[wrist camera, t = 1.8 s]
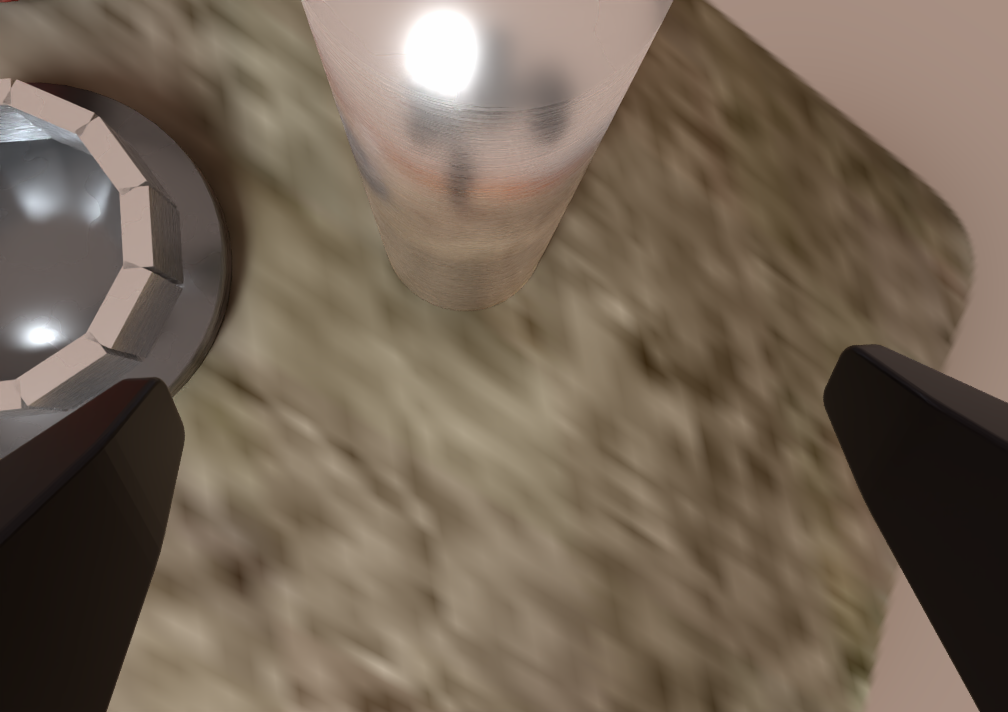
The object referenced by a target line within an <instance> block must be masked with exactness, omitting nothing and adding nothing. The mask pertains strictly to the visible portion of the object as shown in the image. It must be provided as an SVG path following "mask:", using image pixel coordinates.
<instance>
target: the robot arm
mask: <svg viewBox="0 0 1008 712" xmlns="http://www.w3.org/2000/svg"><path fill="white" fill-rule="evenodd" d="M823 401H824V406H825V410H826V412H827V414H828V417H829V419H830V421H831V424H832V426H833V429H834V431H835V433H836V436H837V438H838V440H839V443H840V445H841V448H842V450H843V452H844V455H845V457H846V459H847V462H848V464H849V467H850V469H851V471H852V474H853V476H854V479H855V481H856V483H857V486H858V488H859V490H860V492H861V494H862V497H863V499H864V501H865V503H866V505H867V507H868V509H869V511H870V513H871V515H872V517H873V518H874V520H875V522H876V524H877V526H878V527H879V529H880V531H881V533H882V535H883V537H884V538H885V540H886V542H887V544H888V546H889V548H890V549H891V551H892V553H893V555H894V557H895V558H896V560H897V562H898V564H899V566H900V568H901V569H902V571H903V573H904V575H905V577H906V578H907V580H908V582H909V584H910V586H911V588H912V589H913V591H914V593H915V595H916V597H917V598H918V600H919V602H920V604H921V606H922V608H923V609H924V611H925V613H926V615H927V617H928V619H929V620H930V622H931V624H932V626H933V627H934V629H935V631H936V633H937V635H938V637H939V638H940V640H941V642H942V644H943V646H944V648H945V649H946V651H947V653H948V655H949V657H950V659H951V660H952V662H953V664H954V666H955V668H956V669H957V671H958V673H959V675H960V676H961V679H962V680H963V682H964V684H965V686H966V688H967V689H968V691H969V693H970V695H971V697H972V699H973V700H974V702H975V704H976V706H977V708H978V710H979V711H980V712H1008V403H1007V402H1004V401H1002V400H1000V399H998V398H995V397H993V396H991V395H989V394H987V393H985V392H982V391H980V390H978V389H976V388H974V387H972V386H969V385H967V384H965V383H963V382H961V381H958V380H956V379H954V378H952V377H949V376H947V375H945V374H943V373H941V372H939V371H936V370H934V369H932V368H930V367H928V366H925V365H923V364H921V363H919V362H917V361H915V360H912V359H910V358H908V357H906V356H904V355H901V354H899V353H897V352H895V351H893V350H890V349H888V348H886V347H884V346H881V345H876V344H870V345H852V346H849V347H847V348H846V349H845V350H844V351H843V352H842V353H841V355H840V357H839V359H838V361H837V363H836V366H835V368H834V370H833V372H832V374H831V376H830V379H829V381H828V383H827V385H826V387H825V390H824V395H823ZM184 440H185V432H184V426H183V423H182V420H181V418H180V415H179V413H178V411H177V408H176V406H175V404H174V401H173V399H172V396H171V394H170V392H169V389H168V387H167V385H166V383H165V382H164V381H163V380H162V379H160V378H158V377H140V378H127V379H123V380H121V381H119V382H118V383H116V384H115V385H113V386H112V387H110V388H109V389H107V390H106V391H104V392H102V393H101V394H99V395H98V396H96V397H95V398H93V399H92V400H90V401H89V402H87V403H86V404H84V405H83V406H81V407H80V408H78V409H77V410H75V411H74V412H72V413H71V414H69V415H68V416H66V417H64V418H63V419H61V420H60V421H58V422H57V423H55V424H54V425H52V426H51V427H49V428H48V429H46V430H45V431H43V432H42V433H40V434H39V435H37V436H36V437H34V438H32V439H31V440H29V441H28V442H26V443H25V444H23V445H22V446H20V447H19V448H17V449H16V450H14V451H13V452H11V453H10V454H8V455H7V456H5V457H4V458H2V459H0V712H107V709H108V706H109V703H110V700H111V697H112V694H113V691H114V688H115V685H116V682H117V679H118V676H119V674H120V671H121V668H122V665H123V662H124V659H125V656H126V653H127V650H128V647H129V644H130V641H131V638H132V635H133V633H134V630H135V627H136V624H137V621H138V618H139V615H140V612H141V609H142V606H143V603H144V600H145V597H146V594H147V592H148V589H149V586H150V583H151V580H152V577H153V574H154V571H155V568H156V565H157V561H158V558H159V555H160V552H161V548H162V544H163V540H164V536H165V531H166V527H167V522H168V517H169V513H170V508H171V503H172V498H173V494H174V489H175V484H176V479H177V475H178V470H179V465H180V461H181V456H182V451H183V446H184Z"/></svg>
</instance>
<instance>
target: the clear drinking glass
mask: <svg viewBox="0 0 1008 712" xmlns="http://www.w3.org/2000/svg"><path fill="white" fill-rule="evenodd" d="M301 1H302V4H303V7H304V10H305V13H306V16H307V19H308V22H309V25H310V28H311V31H312V33H313V36H314V39H315V42H316V45H317V48H318V51H319V54H320V57H321V60H322V63H323V66H324V69H325V72H326V75H327V78H328V81H329V84H330V87H331V90H332V93H333V96H334V99H335V102H336V105H337V108H338V111H339V113H340V116H341V119H342V122H343V125H344V128H345V131H346V134H347V137H348V140H349V143H350V146H351V149H352V152H353V155H354V158H355V161H356V164H357V167H358V170H359V173H360V176H361V179H362V182H363V185H364V188H365V190H366V193H367V196H368V199H369V202H370V205H371V208H372V211H373V214H374V217H375V220H376V223H377V226H378V229H379V232H380V235H381V238H382V241H383V244H384V247H385V250H386V253H387V256H388V259H389V261H390V263H391V265H392V268H393V270H394V271H395V273H396V274H397V276H398V277H399V279H400V280H401V281H402V282H403V283H404V284H405V286H406V287H407V288H408V289H410V290H411V291H412V292H413V293H414V294H416V295H417V296H419V297H420V298H421V299H423V300H425V301H427V302H429V303H431V304H433V305H436V306H439V307H441V308H445V309H450V310H457V311H475V310H480V309H485V308H489V307H492V306H495V305H497V304H499V303H501V302H503V301H505V300H507V299H508V298H510V297H511V296H513V295H514V294H515V293H517V292H518V291H519V290H520V289H521V288H522V287H523V286H524V285H525V284H526V283H527V281H528V280H529V278H530V277H531V276H532V274H533V272H534V270H535V269H536V267H537V265H538V263H539V261H540V259H541V257H542V255H543V253H544V251H545V249H546V247H547V245H548V243H549V241H550V239H551V237H552V235H553V234H554V232H555V230H556V228H557V226H558V224H559V222H560V220H561V218H562V216H563V214H564V212H565V210H566V208H567V206H568V204H569V202H570V200H571V199H572V197H573V195H574V193H575V191H576V189H577V187H578V185H579V183H580V181H581V179H582V177H583V175H584V173H585V171H586V169H587V167H588V166H589V164H590V162H591V160H592V158H593V156H594V154H595V152H596V150H597V148H598V146H599V144H600V142H601V140H602V138H603V136H604V134H605V132H606V131H607V129H608V127H609V125H610V123H611V121H612V119H613V117H614V115H615V113H616V111H617V109H618V107H619V105H620V103H621V101H622V99H623V97H624V96H625V94H626V92H627V90H628V88H629V86H630V84H631V82H632V80H633V78H634V76H635V74H636V72H637V70H638V68H639V66H640V64H641V63H642V61H643V59H644V57H645V55H646V53H647V51H648V49H649V47H650V45H651V43H652V41H653V39H654V37H655V35H656V33H657V31H658V29H659V28H660V26H661V24H662V22H663V20H664V18H665V16H666V14H667V12H668V10H669V8H670V6H671V4H672V2H673V0H301Z"/></svg>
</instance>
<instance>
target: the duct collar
mask: <svg viewBox="0 0 1008 712" xmlns="http://www.w3.org/2000/svg"><path fill="white" fill-rule="evenodd" d="M231 279H232V252H231V245H230V238H229V231H228V228H227V225H226V221H225V218H224V214H223V211H222V208H221V206H220V204H219V202H218V200H217V198H216V195H215V193H214V191H213V189H212V188H211V186H210V184H209V183H208V181H207V180H206V178H205V177H204V175H203V174H202V172H201V171H200V169H199V168H198V167H197V166H196V165H195V164H194V162H193V161H192V160H191V159H190V158H189V157H188V155H187V154H186V153H185V152H184V151H183V150H182V149H181V148H180V147H179V146H178V145H177V143H176V142H175V141H174V140H173V139H172V138H171V137H169V136H168V135H167V134H166V133H165V132H164V131H163V130H162V129H160V128H159V127H158V126H157V125H156V124H155V123H153V122H152V121H150V120H149V119H147V118H146V117H144V116H143V115H141V114H140V113H138V112H137V111H135V110H133V109H132V108H130V107H128V106H126V105H124V104H122V103H120V102H118V101H116V100H114V99H111V98H108V97H105V96H103V95H100V94H97V93H94V92H92V91H88V90H83V89H79V88H75V87H70V86H66V85H57V84H48V83H24V82H22V81H19V80H17V79H16V81H15V82H14V81H13V80H12V79H11V78H7V79H0V458H4V457H5V456H7V455H8V454H10V453H11V452H13V451H14V450H16V449H17V448H19V447H20V446H22V445H23V444H25V443H26V442H28V441H29V440H31V439H32V438H34V437H36V436H37V435H39V434H40V433H42V432H43V431H45V430H46V429H48V428H49V427H51V426H52V425H54V424H55V423H57V422H58V421H60V420H61V419H63V418H64V417H66V416H68V415H69V414H71V413H72V412H74V411H75V410H77V409H78V408H80V407H81V406H83V405H84V404H86V403H87V402H89V401H90V400H92V399H93V398H95V397H96V396H98V395H99V394H101V393H102V392H104V391H106V390H107V389H109V388H110V387H112V386H113V385H115V384H116V383H118V382H119V381H121V380H123V379H127V378H140V377H158V378H160V379H162V380H163V381H164V382H165V383H166V385H167V387H168V389H169V392H170V394H171V396H172V397H173V396H174V395H175V394H176V393H177V392H178V391H179V390H180V389H181V388H182V387H183V386H184V385H185V384H186V383H187V381H188V380H189V379H190V378H191V376H192V375H193V374H194V372H195V371H196V370H197V368H198V367H199V366H200V365H201V363H202V361H203V360H204V358H205V356H206V355H207V353H208V351H209V350H210V348H211V346H212V344H213V343H214V340H215V338H216V336H217V333H218V331H219V328H220V326H221V324H222V321H223V318H224V314H225V311H226V307H227V303H228V300H229V294H230V286H231Z"/></svg>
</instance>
